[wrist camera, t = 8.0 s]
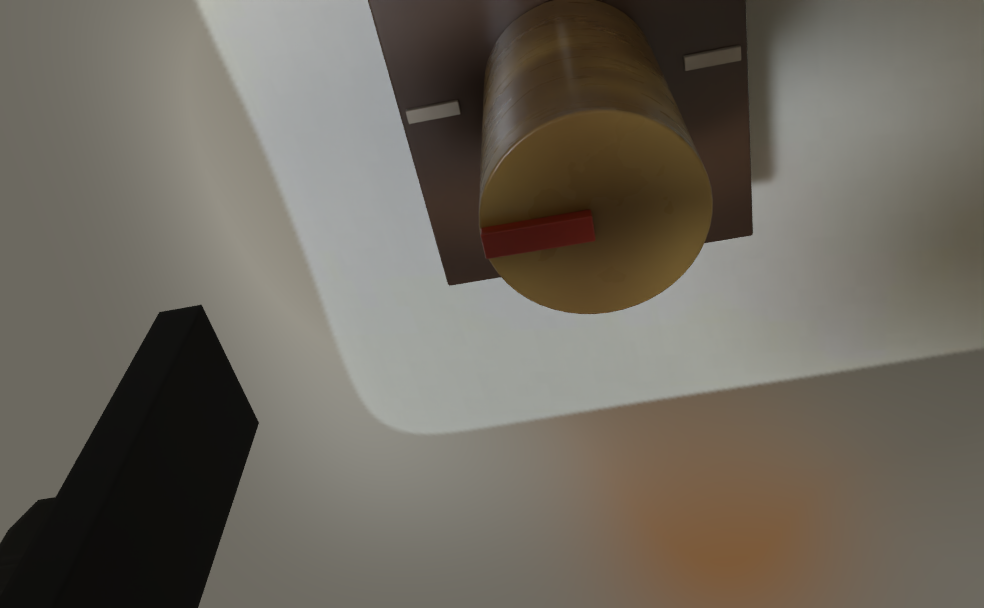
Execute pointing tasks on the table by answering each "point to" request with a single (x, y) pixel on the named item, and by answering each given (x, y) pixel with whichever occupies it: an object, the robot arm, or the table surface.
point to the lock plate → (460, 89)
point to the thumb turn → (586, 163)
